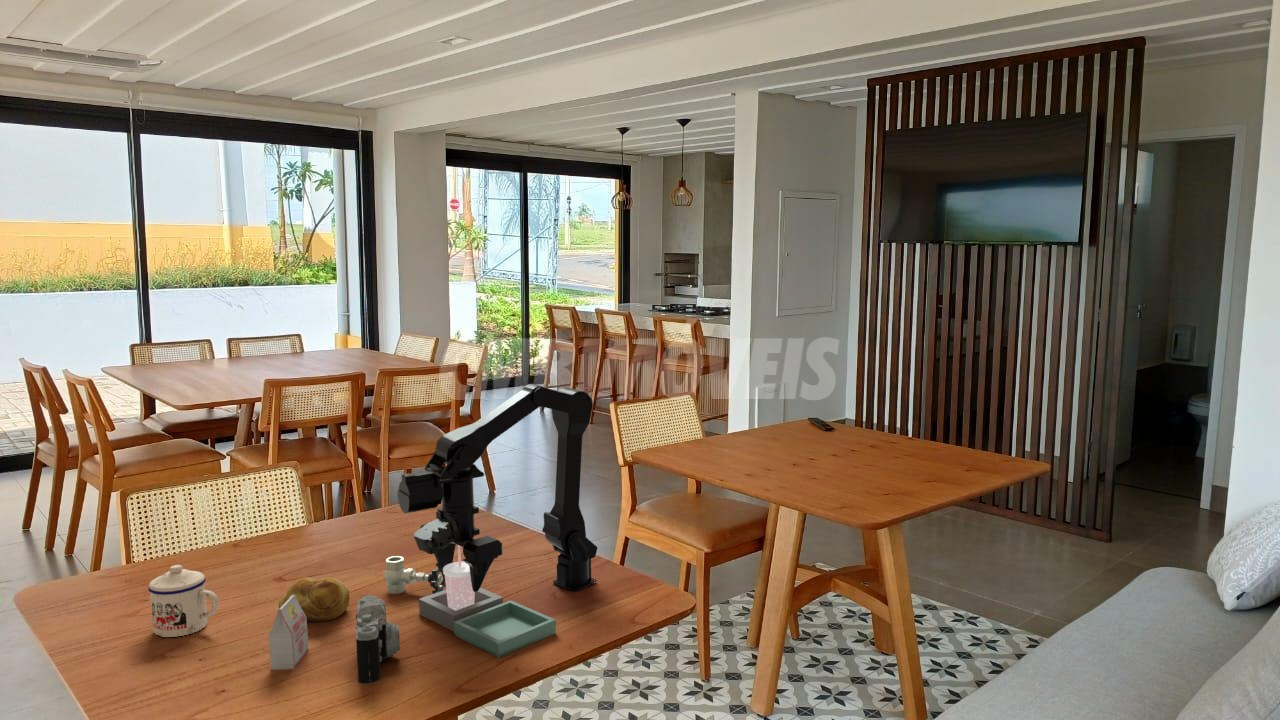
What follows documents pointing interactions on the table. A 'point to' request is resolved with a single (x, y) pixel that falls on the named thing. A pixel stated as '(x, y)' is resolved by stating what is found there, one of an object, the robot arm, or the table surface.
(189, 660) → the table surface
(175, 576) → the teacup with lid
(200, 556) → the table surface
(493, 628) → the tray
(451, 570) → the beverage cup
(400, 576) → the valve
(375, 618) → the camera
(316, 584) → the bread roll
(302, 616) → the milk carton
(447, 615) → the holder block
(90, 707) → the table surface
